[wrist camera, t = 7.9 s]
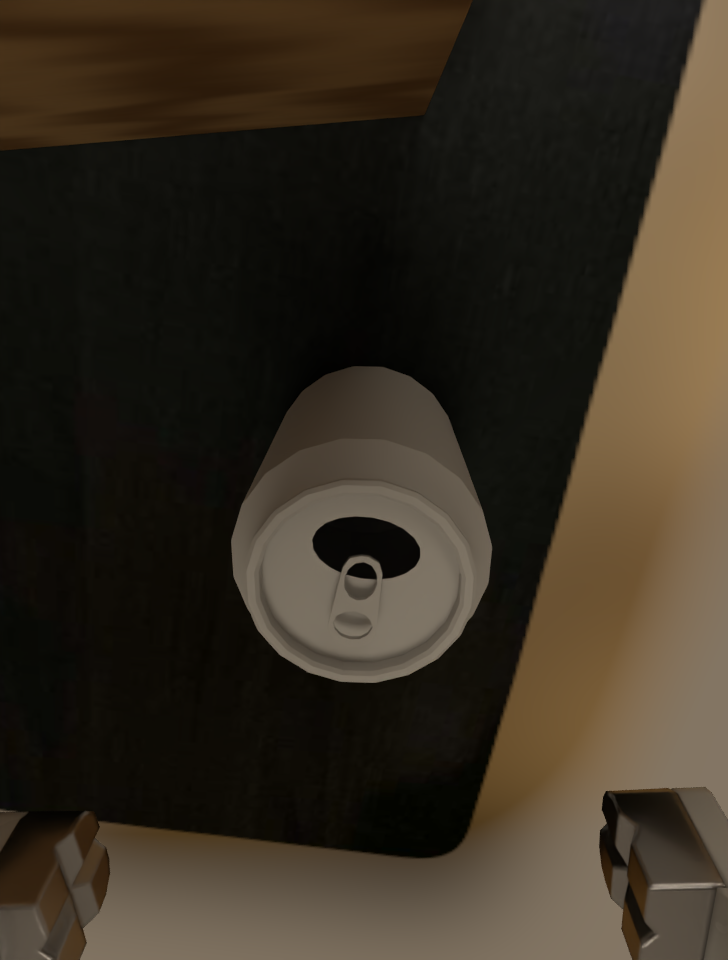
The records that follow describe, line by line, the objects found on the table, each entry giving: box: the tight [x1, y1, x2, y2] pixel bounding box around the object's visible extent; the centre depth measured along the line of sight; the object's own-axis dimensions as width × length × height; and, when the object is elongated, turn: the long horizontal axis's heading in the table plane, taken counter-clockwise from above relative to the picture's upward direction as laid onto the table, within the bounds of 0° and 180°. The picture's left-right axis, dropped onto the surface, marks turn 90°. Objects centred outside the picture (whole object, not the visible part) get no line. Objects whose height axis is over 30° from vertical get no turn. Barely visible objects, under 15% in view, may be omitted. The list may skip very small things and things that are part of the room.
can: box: [231, 366, 492, 683], centre depth 22 cm, size 8×8×12 cm
